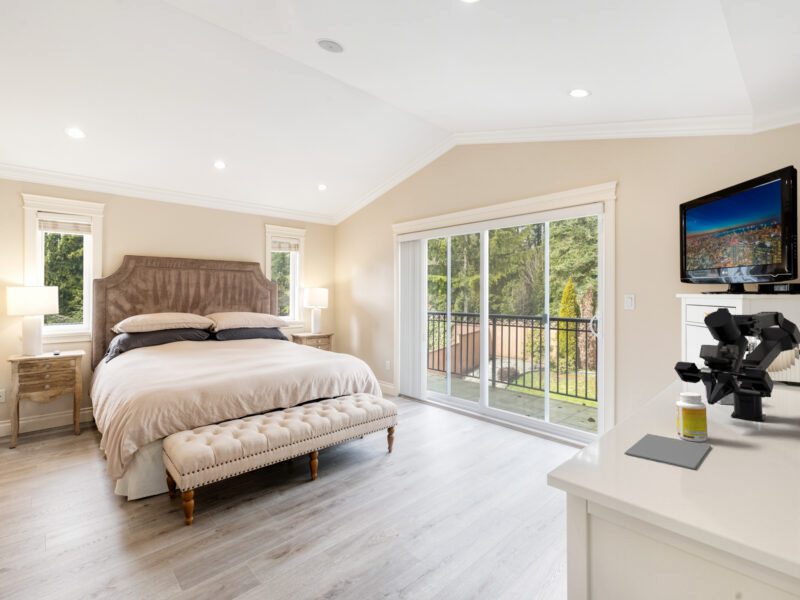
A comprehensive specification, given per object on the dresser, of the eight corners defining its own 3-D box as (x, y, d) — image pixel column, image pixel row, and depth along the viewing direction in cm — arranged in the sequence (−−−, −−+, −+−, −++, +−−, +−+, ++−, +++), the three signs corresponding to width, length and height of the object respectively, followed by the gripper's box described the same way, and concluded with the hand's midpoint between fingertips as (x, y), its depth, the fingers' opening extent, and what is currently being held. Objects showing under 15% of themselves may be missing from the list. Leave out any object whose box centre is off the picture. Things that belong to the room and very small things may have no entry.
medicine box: (736, 404, 118) (735, 375, 118) (719, 404, 119) (718, 375, 119) (721, 398, 126) (719, 371, 126) (705, 398, 127) (703, 371, 127)
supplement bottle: (714, 442, 89) (711, 396, 89) (689, 443, 89) (687, 397, 89) (694, 434, 95) (692, 390, 95) (672, 435, 94) (669, 391, 95)
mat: (647, 435, 95) (647, 433, 95) (710, 447, 86) (710, 445, 86) (624, 454, 84) (624, 452, 84) (694, 469, 75) (694, 467, 75)
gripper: (676, 331, 107) (655, 377, 102) (765, 334, 91) (746, 389, 85) (692, 357, 111) (673, 403, 105) (781, 365, 95) (764, 420, 89)
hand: (709, 403), depth 96 cm, fingers closed
